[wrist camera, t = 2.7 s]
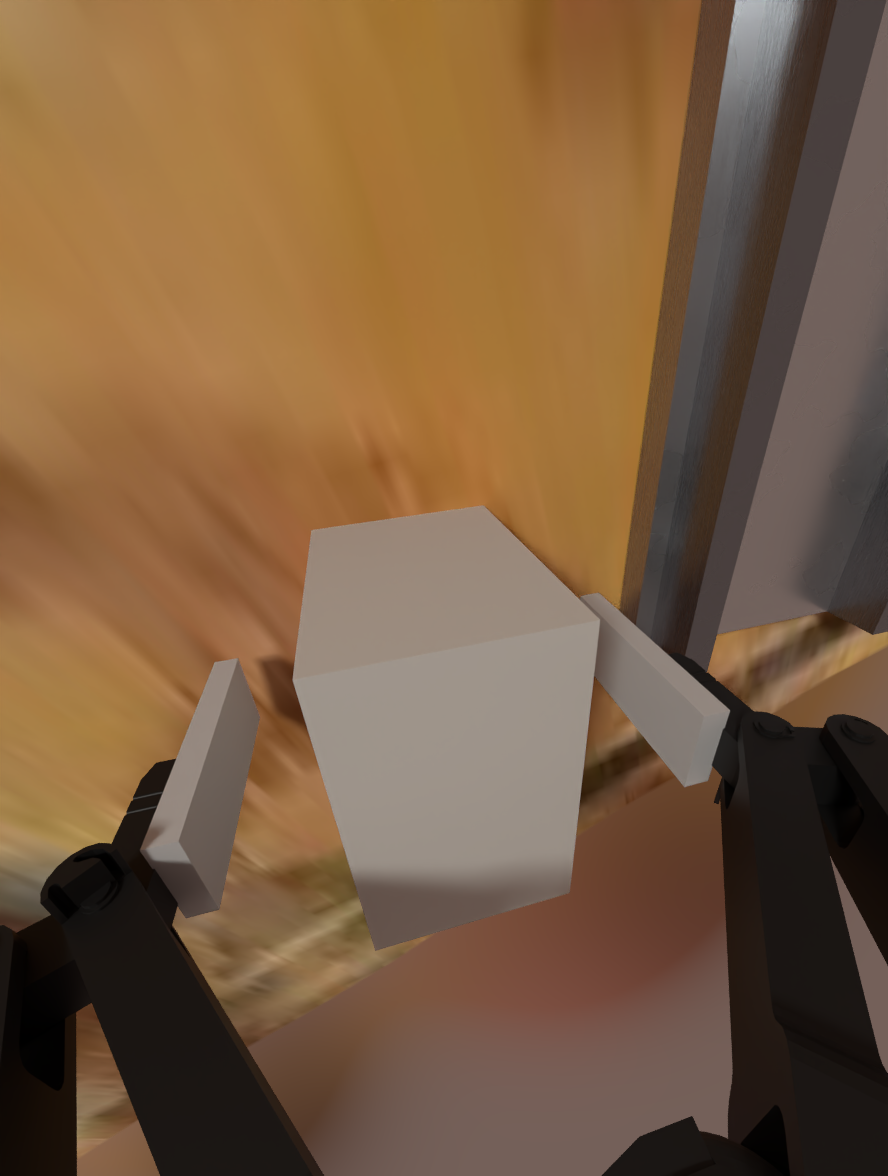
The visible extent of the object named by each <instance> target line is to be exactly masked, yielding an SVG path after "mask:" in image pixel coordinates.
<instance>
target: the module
mask: <svg viewBox="0 0 888 1176" xmlns="http://www.w3.org/2000/svg"><path fill="white" fill-rule="evenodd" d="M599 627H600V619H599V618H598V617H597V616H596V615H595V614H594V613H593V612H592V611H591V610H590V609H589V608H588V607H587V606H586V605H585V604H584V603H583V602H581V601H580V600H579V599H578V598H577V597H576V596H575V595H574V594H573V593H572V592H571V591H570V590H569V589H568V588H567V587H566V586H565V585H564V584H563V583H562V582H561V581H560V580H559V579H558V578H557V577H556V576H555V575H554V574H553V573H552V572H551V571H550V570H549V569H548V568H547V567H546V566H545V565H544V564H543V563H542V562H541V561H540V560H539V559H538V558H537V557H536V556H535V555H534V554H533V553H532V552H531V551H529V550H528V549H527V548H526V547H525V546H524V545H523V544H522V543H521V542H520V541H519V540H518V539H517V538H516V537H515V536H514V535H513V534H512V533H511V532H510V531H509V530H508V529H507V528H506V527H505V526H504V525H503V524H502V523H501V522H500V521H499V520H498V519H497V518H496V517H495V516H494V515H493V514H492V513H491V512H490V511H489V510H488V509H487V508H486V507H485V506H484V505H483V506H476V507H469V508H462V509H455V510H448V511H441V512H434V513H428V514H421V515H414V516H407V517H400V518H393V519H386V520H379V521H372V522H365V523H358V524H351V525H344V526H337V527H330V528H323V529H316V530H312V531H311V539H310V546H309V554H308V562H307V570H306V578H305V586H304V594H303V601H302V609H301V617H300V625H299V633H298V641H297V649H296V656H295V664H294V672H293V683H294V687H295V690H296V693H297V696H298V700H299V703H300V706H301V709H302V713H303V716H304V719H305V722H306V726H307V729H308V732H309V735H310V739H311V742H312V745H313V749H314V752H315V755H316V758H317V762H318V765H319V768H320V771H321V775H322V778H323V781H324V784H325V788H326V791H327V794H328V797H329V801H330V804H331V807H332V811H333V814H334V817H335V820H336V824H337V827H338V830H339V833H340V837H341V840H342V843H343V846H344V850H345V853H346V856H347V859H348V863H349V866H350V869H351V873H352V876H353V879H354V882H355V886H356V889H357V892H358V895H359V899H360V902H361V905H362V908H363V912H364V915H365V918H366V921H367V925H368V928H369V931H370V935H371V938H372V941H373V944H374V948H375V951H376V950H379V949H383V948H386V947H389V946H393V945H396V944H399V943H403V942H406V941H409V940H413V939H416V938H420V937H423V936H426V935H430V934H433V933H436V932H440V931H443V930H446V929H450V928H453V927H456V926H460V925H463V924H466V923H470V922H473V921H476V920H480V919H483V918H487V917H490V916H493V915H497V914H500V913H503V912H507V911H510V910H513V909H517V908H520V907H524V906H527V905H530V904H533V903H537V902H540V901H544V900H547V899H551V898H554V897H557V896H560V895H564V894H567V893H570V884H571V875H572V866H573V858H574V849H575V839H576V831H577V822H578V813H579V804H580V796H581V787H582V778H583V769H584V760H585V751H586V742H587V733H588V725H589V716H590V707H591V698H592V689H593V680H594V671H595V662H596V654H597V645H598V636H599Z"/></svg>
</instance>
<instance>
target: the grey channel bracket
mask: <svg viewBox="0 0 888 1176" xmlns="http://www.w3.org/2000/svg"><path fill="white" fill-rule="evenodd" d="M826 611H827V612H829V613H831V614H833V615H835V616H837V617H839V618H841V619H843V620H845V621H847V622H849V623H851V624H853V625H855V626H857V627H859V628H860V629H862V630H864V631H866V632H868V633H870V634H872V635H874V634H878V633H883V632H887V631H888V0H703V1H702V8H701V16H700V23H699V30H698V38H697V45H696V53H695V60H694V67H693V75H692V82H691V89H690V97H689V104H688V111H687V119H686V126H685V133H684V141H683V148H682V156H681V163H680V170H679V178H678V185H677V192H676V200H675V207H674V214H673V222H672V229H671V236H670V244H669V251H668V258H667V266H666V273H665V281H664V288H663V295H662V303H661V310H660V317H659V325H658V332H657V339H656V347H655V354H654V361H653V369H652V376H651V384H650V391H649V398H648V406H647V413H646V420H645V428H644V435H643V442H642V450H641V457H640V464H639V472H638V479H637V487H636V494H635V501H634V509H633V516H632V523H631V531H630V538H629V545H628V553H627V560H626V567H625V575H624V582H623V590H622V597H621V604H620V612H621V613H622V614H623V615H624V616H625V617H626V618H627V619H629V620H630V621H631V622H632V623H633V624H634V625H635V626H636V627H638V628H639V629H640V630H641V631H642V632H643V633H644V634H645V635H646V636H648V637H649V638H650V639H651V640H652V641H653V642H654V643H655V644H657V645H658V646H659V647H660V648H661V649H662V650H663V651H664V652H665V653H667V654H672V653H676V652H677V653H680V654H682V655H684V656H686V657H688V658H690V659H692V660H694V661H695V662H696V663H697V664H698V665H700V666H701V667H702V668H703V669H704V670H705V671H706V672H707V670H708V666H709V662H710V658H711V655H712V651H713V647H714V644H715V640H716V636H717V634H721V633H726V632H731V631H736V630H740V629H745V628H750V627H755V626H759V625H764V624H769V623H774V622H778V621H783V620H788V619H793V618H797V617H802V616H807V615H812V614H817V613H821V612H826Z"/></svg>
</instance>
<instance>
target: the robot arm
mask: <svg viewBox="0 0 888 1176" xmlns="http://www.w3.org/2000/svg"><path fill="white" fill-rule="evenodd" d="M580 601H581V602H583V603H584V604H585V605H586V606H587V607H588V608H589V609H590V610H591V611H592V612H593V613H594V614H595V615H596V616H597V617H598V618H599V619H600V627H599V636H598V645H597V654H596V662H595V671H594V676H595V678H596V679H597V680H598V681H599V682H600V684H601V685H602V686H603V687H604V689H605V690H606V691H607V692H608V694H609V695H610V696H611V697H612V698H613V700H614V701H615V702H616V703H617V705H618V706H619V707H620V708H621V710H622V711H623V712H624V713H625V715H626V716H627V717H628V718H629V719H630V721H631V722H632V723H633V724H634V726H635V727H636V728H637V729H638V731H639V732H640V733H641V734H642V735H643V737H644V738H645V739H646V740H647V742H648V743H649V744H650V745H651V747H652V748H653V749H654V750H655V751H656V753H657V754H658V755H659V756H660V758H661V759H662V760H663V761H664V763H665V764H666V765H667V766H668V768H669V769H670V770H671V771H672V772H673V774H674V775H675V776H676V777H677V779H678V780H679V781H680V782H681V784H682V785H683V786H684V787H687V786H690V785H694V784H698V783H702V782H705V781H708V779H709V776H710V772H711V769H712V766H713V767H714V768H715V769H716V770H717V771H718V773H719V774H720V775H721V776H722V779H721V782H720V785H719V788H718V791H717V794H716V797H715V801H714V803H716V804H719V801H720V802H721V821H722V822H721V823H722V845H723V867H724V889H725V910H726V932H727V953H728V975H729V997H730V1018H731V1040H732V1062H733V1075H732V1085H731V1091H730V1098H729V1108H728V1139H727V1138H725V1137H722V1136H720V1135H716V1134H712V1133H708V1132H701V1131H699V1130H698V1127H697V1126H696V1123H695V1121H694V1119H693V1117H692V1116H691V1117H688V1118H686V1119H683V1120H681V1121H678V1122H676V1123H673V1124H671V1125H668V1126H665V1127H663V1128H660V1129H658V1130H655V1131H653V1132H650V1133H648V1134H645V1135H643V1136H640V1137H639V1138H638V1139H637V1140H636V1141H635V1142H634V1143H633V1144H632V1145H631V1146H630V1147H629V1148H628V1149H627V1150H626V1151H625V1152H624V1153H623V1154H622V1155H621V1157H619V1158H618V1159H617V1160H616V1161H615V1162H614V1163H613V1164H612V1165H611V1167H609V1169H608V1170H607V1171H606V1172H605V1173H604V1174H603V1175H602V1176H888V1073H887V1072H886V1070H885V1068H884V1066H883V1064H882V1062H881V1059H880V1056H879V1053H878V1049H877V1045H876V1041H875V1037H874V1032H873V1029H872V1025H871V1020H870V1016H869V1012H868V1008H867V1004H866V1000H865V996H864V992H863V988H862V984H861V980H860V976H859V972H858V968H857V964H856V960H855V956H854V952H853V948H852V944H851V940H850V936H849V932H848V928H847V924H846V920H845V916H844V911H843V907H842V904H841V899H840V895H839V891H838V887H837V883H836V879H835V875H834V871H833V867H832V863H831V859H830V856H831V858H832V860H833V862H834V864H835V866H836V868H837V869H838V872H839V873H840V875H841V877H842V879H843V881H844V883H845V885H846V887H847V889H848V891H849V893H850V895H851V896H852V898H853V900H854V902H855V904H856V906H857V908H858V910H859V912H860V913H861V915H862V917H863V919H864V921H865V923H866V925H867V927H868V929H869V931H870V933H871V934H872V936H873V938H874V940H875V942H876V944H877V946H878V948H879V950H880V952H881V953H882V955H883V957H884V959H885V961H886V963H887V965H888V735H887V734H886V733H885V732H884V731H883V730H881V729H880V728H879V727H877V726H875V725H874V724H872V723H870V722H869V721H866V720H863V719H861V718H858V717H855V716H849V715H845V714H842V715H833V716H830V717H829V718H827V721H826V723H825V725H824V727H823V728H809V727H793V726H792V725H791V724H790V723H789V722H787V721H785V720H784V719H782V718H780V717H778V716H775V715H773V714H770V713H766V712H757V711H756V712H754V711H753V710H751V709H750V708H749V707H748V706H747V705H746V704H744V703H743V702H742V701H741V700H740V699H738V698H737V697H736V696H735V695H734V694H733V693H731V692H730V691H729V690H728V689H727V688H725V687H724V686H723V685H722V684H721V683H720V682H718V681H716V680H715V678H714V677H712V676H711V675H710V674H709V673H706V671H705V670H704V669H703V668H702V667H701V666H700V665H698V664H697V663H696V662H695V661H694V660H692V659H690V658H688V657H686V656H684V655H682V654H680V653H677V652H676V653H672V654H667V653H665V652H664V651H663V650H662V649H661V648H660V647H659V646H658V645H657V644H655V643H654V642H653V641H652V640H651V639H650V638H649V637H648V636H646V635H645V634H644V633H643V632H642V631H641V630H640V629H639V628H638V627H636V626H635V625H634V624H633V623H632V622H631V621H630V620H629V619H627V618H626V617H625V616H624V615H623V614H622V613H621V612H620V611H619V610H617V609H616V608H615V607H614V606H613V605H612V604H611V603H610V602H608V601H607V600H606V599H605V598H604V597H603V596H602V595H601V594H600V593H595V594H589V595H584V596H581V597H580ZM259 719H260V716H259V713H258V710H257V708H256V705H255V702H254V700H253V697H252V694H251V692H250V689H249V686H248V683H247V681H246V678H245V675H244V673H243V670H242V667H241V665H240V662H239V659H238V658H236V659H231V660H225V661H220V662H215V663H214V665H213V668H212V671H211V673H210V676H209V678H208V681H207V683H206V686H205V688H204V691H203V693H202V696H201V698H200V701H199V703H198V706H197V708H196V711H195V713H194V716H193V718H192V721H191V723H190V726H189V728H188V731H187V733H186V736H185V738H184V741H183V743H182V746H181V748H180V751H179V753H178V756H177V758H176V759H172V760H168V761H163V762H158V763H156V764H155V765H154V766H153V767H152V768H151V769H150V770H149V772H148V773H147V774H146V775H145V776H144V777H143V778H142V779H141V781H140V783H139V786H138V788H137V790H136V792H135V794H134V796H133V801H131V803H130V805H129V807H128V809H127V815H125V816H124V818H123V820H122V822H121V825H120V827H119V829H118V831H117V833H116V835H115V838H114V840H113V842H112V844H109V843H98V844H94V845H91V846H87V847H85V848H83V849H81V850H79V851H78V852H76V853H74V854H72V855H71V856H70V857H68V858H67V859H66V860H65V861H63V862H62V863H61V864H60V865H59V866H57V868H56V869H55V870H54V871H53V872H52V874H51V875H50V876H49V877H48V879H47V880H46V882H45V884H44V886H43V888H42V890H41V904H42V905H43V906H44V907H45V909H46V910H47V911H48V912H49V913H50V914H51V915H50V916H48V917H46V918H44V919H43V920H41V921H39V922H37V923H35V924H33V925H31V926H29V927H27V928H25V929H23V930H21V931H19V932H17V933H15V932H14V931H13V930H12V929H10V928H8V927H6V926H4V925H0V1176H77V1111H76V1012H77V1011H78V1010H80V1009H82V1008H83V1007H85V1006H87V1005H88V1004H90V1003H92V1004H93V1007H94V1009H95V1012H96V1014H97V1017H98V1019H99V1022H100V1024H101V1027H102V1029H103V1032H104V1034H105V1037H106V1039H107V1042H108V1045H109V1047H110V1050H111V1052H112V1055H113V1057H114V1060H115V1062H116V1065H117V1067H118V1070H119V1072H120V1075H121V1077H122V1080H123V1083H124V1085H125V1088H126V1090H127V1093H128V1095H129V1098H130V1100H131V1103H132V1105H133V1108H134V1110H135V1113H136V1115H137V1118H138V1120H139V1123H140V1125H141V1128H142V1131H143V1133H144V1136H145V1138H146V1141H147V1143H148V1146H149V1148H150V1151H151V1153H152V1156H153V1158H154V1161H155V1163H156V1166H157V1169H158V1171H159V1174H160V1176H324V1174H323V1173H322V1171H321V1170H320V1168H319V1166H318V1164H317V1163H316V1161H315V1160H314V1158H313V1156H312V1155H311V1153H310V1151H309V1150H308V1148H307V1146H306V1145H305V1143H304V1141H303V1140H302V1138H301V1136H300V1135H299V1133H298V1131H297V1130H296V1128H295V1127H294V1125H293V1123H292V1122H291V1120H290V1118H289V1117H288V1115H287V1113H286V1112H285V1110H284V1108H283V1107H282V1105H281V1103H280V1102H279V1100H278V1099H277V1097H276V1095H275V1094H274V1092H273V1090H272V1089H271V1087H270V1085H269V1084H268V1082H267V1080H266V1079H265V1077H264V1075H263V1074H262V1072H261V1070H260V1069H259V1067H258V1065H257V1064H256V1062H255V1061H254V1059H253V1057H252V1056H251V1054H250V1052H249V1051H248V1049H247V1047H246V1046H245V1044H244V1042H243V1041H242V1039H241V1037H240V1036H239V1034H238V1032H237V1031H236V1029H235V1028H234V1026H233V1024H232V1023H231V1021H230V1019H229V1018H228V1016H227V1014H226V1013H225V1011H224V1009H223V1008H222V1006H221V1004H220V1003H219V1001H218V999H217V998H216V996H215V995H214V993H213V991H212V990H211V988H210V986H209V985H208V983H207V981H206V980H205V978H204V976H203V975H202V973H201V971H200V970H199V968H198V966H197V965H196V963H195V962H194V960H193V958H192V957H191V955H190V953H189V952H188V950H187V948H186V947H185V945H184V943H183V942H182V940H181V938H180V937H179V935H178V933H177V932H176V930H175V929H174V927H173V926H172V923H173V920H174V916H175V913H176V909H177V906H178V907H179V909H180V910H181V912H182V913H183V915H184V916H185V918H189V917H193V916H196V915H200V914H204V913H208V912H212V911H215V910H219V909H220V904H221V899H222V894H223V890H224V885H225V880H226V875H227V871H228V866H229V861H230V857H231V852H232V847H233V842H234V838H235V833H236V828H237V823H238V819H239V814H240V809H241V805H242V800H243V795H244V790H245V786H246V781H247V776H248V771H249V767H250V762H251V757H252V753H253V748H254V743H255V738H256V734H257V729H258V724H259Z"/></svg>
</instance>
